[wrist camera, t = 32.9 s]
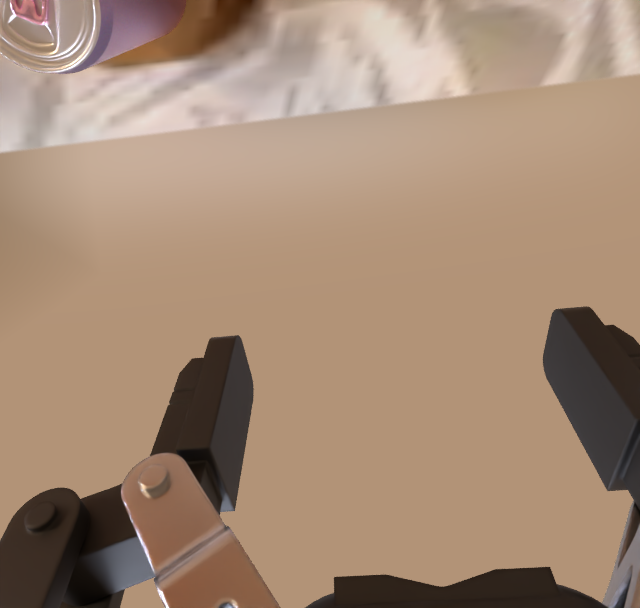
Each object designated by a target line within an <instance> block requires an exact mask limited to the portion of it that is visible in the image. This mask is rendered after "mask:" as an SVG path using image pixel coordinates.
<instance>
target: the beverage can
mask: <svg viewBox="0 0 640 608" xmlns="http://www.w3.org/2000/svg"><path fill="white" fill-rule="evenodd" d="M185 6H186V0H0V54H1V55H3V56H4V57H5V58H7V59H9V60H10V61H12V62H14V63H15V64H17V65H19V66H21V67H24V68H26V69H29V70H32V71H36V72H41V73H58V74H68V73H75V72H79V71H82V70H84V69H87V68H89V67H91V66H94V65H96V64H98V63H101V62H103V61H105V60H108V59H110V58H112V57H115V56H117V55H119V54H122V53H124V52H127V51H129V50H131V49H134V48H136V47H138V46H141V45H143V44H145V43H148V42H150V41H152V40H155V39H157V38H159V37H162V36H164V35H166V34H168V33H169V32H171V31H172V30H173V29H174V28H175V27H176V26H177V25H178V23H179V22H180V20H181V18H182V16H183V13H184V10H185Z"/></svg>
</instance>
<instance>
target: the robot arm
mask: <svg viewBox="0 0 640 608" xmlns="http://www.w3.org/2000/svg"><path fill="white" fill-rule="evenodd" d="M543 366H544V371H545V374H546V378H547V380H548V382H549V383H550V385H551V387H552V389H553V391H554V393H555V395H556V396H557V398H558V400H559V402H560V404H561V405H562V408H563V409H564V411H565V413H566V415H567V417H568V419H569V420H570V422H571V424H572V426H573V428H574V430H575V431H576V433H577V435H578V437H579V439H580V441H581V443H582V445H583V446H584V448H585V450H586V452H587V454H588V456H589V457H590V459H591V461H592V463H593V465H594V467H595V468H596V470H597V472H598V474H599V476H600V478H601V480H602V482H603V483H604V485H605V487H606V489H607V490H608V491H615V490H628V491H629V493H630V494H631V496H632V498H633V499H634V501H633V503H632V505H631V507H630V511H629V514H628V518H627V522H626V526H625V529H624V533H623V536H622V540H621V544H620V548H619V551H618V555H617V559H616V562H615V566H614V570H613V573H612V577H611V580H610V583H609V586H608V588H607V591H606V593H605V596H604V599H603V602H602V603H601V602H599V601H597V600H595V599H594V598H592V597H590V596H587V595H585V594H583V593H581V592H579V591H577V590H574V589H571V588H568V587H565V586H562V585H557V584H556V582H555V579H554V577H553V574H552V571H551V569H550V567H538V568H518V569H517V568H516V569H496V570H493V571H490V572H487V573H484V574H481V575H478V576H475V577H472V578H470V579H467V580H464V581H461V582H458V583H455V584H452V585H450V586H445V587H439V586H434V585H429V584H425V583H421V582H416V581H412V580H407V579H403V578H398V577H394V576H390V575H369V576H347V577H334V593H333V594H330V595H327V596H324V597H322V598H320V599H319V600H316V601H314V602H313V603H311V604H310V605H308V606H307V607H306V608H640V345H639V344H638V343H637V341H636V340H635V339H634V338H633V337H632V336H630V335H628V334H627V333H625V332H624V331H622V330H621V329H619V328H617V327H616V326H614V325H604V324H603V323H602V322H601V320H600V319H599V318H598V316H597V315H596V314H595V312H594V311H593V310H592V309H591V308H590V307H576V308H564V309H556V310H554V312H553V313H552V317H551V321H550V325H549V330H548V335H547V340H546V344H545V349H544V354H543ZM169 403H170V405H168V407H167V410H166V413H165V416H164V418H163V421H162V424H161V427H160V430H159V432H158V435H157V438H156V441H155V444H154V446H153V449H152V452H151V454H150V457H148V458H146V459H144V460H142V461H141V462H139V463H138V464H137V465H136V466H135V467H133V468H132V470H131V471H130V472H129V473H128V475H127V476H126V478H125V479H124V481H123V483H122V484H120V485H118V486H116V487H113V488H110V489H108V490H104V491H102V492H99V493H96V494H93V495H90V496H87V497H85V498H82V499H80V498H79V497H78V495H77V494H76V493H75V492H74V491H73V490H71V489H67V488H55V489H50V490H47V491H45V492H42V493H40V494H39V495H37V496H35V497H33V498H32V499H30V500H29V501H28V502H26V503H25V504H24V505H23V506H22V507H21V508H20V509H19V510H18V511H17V512H16V514H15V515H14V516H13V518H12V519H11V521H10V523H9V525H8V527H7V529H6V531H5V533H4V535H3V537H2V538H1V540H0V608H120V605H121V601H122V597H123V594H124V590H125V589H126V588H128V587H131V586H133V585H135V584H138V583H141V582H143V581H146V580H148V579H151V578H153V577H155V578H154V582H155V585H156V588H157V590H158V593H159V595H160V597H161V600H162V601H163V604H164V606H165V608H280V606H279V604H278V603H277V601H276V600H275V598H274V597H273V595H272V593H271V592H270V590H269V589H268V587H267V585H266V584H265V582H264V581H263V579H262V577H261V576H260V574H259V573H258V571H257V569H256V568H255V566H254V565H253V563H252V561H251V560H250V558H249V557H248V555H247V554H246V552H245V551H244V549H243V547H242V546H241V544H240V542H239V541H238V539H237V538H236V536H235V535H234V533H233V532H232V530H231V529H230V528H229V527H228V526H227V527H226V525H225V524H224V522H223V521H222V519H221V518H220V512H225V511H235V506H236V500H237V494H238V488H239V481H240V476H241V470H242V464H243V458H244V452H245V446H246V440H247V433H248V427H249V421H250V415H251V409H252V403H253V380H252V376H251V372H250V369H249V365H248V362H247V357H246V354H245V350H244V347H243V343H242V340H241V338H240V336H238V335H237V336H226V337H214V338H211V339H210V340H209V342H208V345H207V349H206V352H205V355H204V358H194V359H191V361H190V362H189V363H188V364H187V365H186V366H185V368H184V369H183V370H182V371H181V372H180V373H179V376H178V379H177V382H176V385H175V387H174V392H173V393H172V396H171V399H170V401H169Z"/></svg>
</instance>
